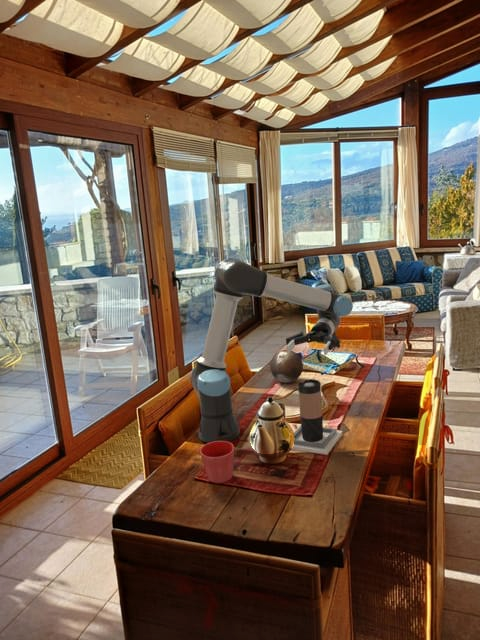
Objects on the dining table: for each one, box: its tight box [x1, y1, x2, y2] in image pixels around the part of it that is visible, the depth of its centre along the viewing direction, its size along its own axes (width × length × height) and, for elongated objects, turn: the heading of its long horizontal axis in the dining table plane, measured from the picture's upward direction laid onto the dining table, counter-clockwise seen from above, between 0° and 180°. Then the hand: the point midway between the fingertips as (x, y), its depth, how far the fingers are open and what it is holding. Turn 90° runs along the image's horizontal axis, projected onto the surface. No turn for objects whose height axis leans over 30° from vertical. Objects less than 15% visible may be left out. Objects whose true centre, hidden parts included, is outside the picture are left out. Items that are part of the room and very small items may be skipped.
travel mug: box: [297, 379, 324, 442], centre depth 177 cm, size 8×8×20 cm
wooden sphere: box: [269, 349, 304, 384], centre depth 238 cm, size 15×15×15 cm
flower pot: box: [199, 441, 235, 484], centre depth 161 cm, size 11×11×10 cm
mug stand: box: [292, 424, 343, 456], centre depth 179 cm, size 16×16×2 cm
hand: (306, 350), depth 182 cm, fingers open, 13 cm apart
